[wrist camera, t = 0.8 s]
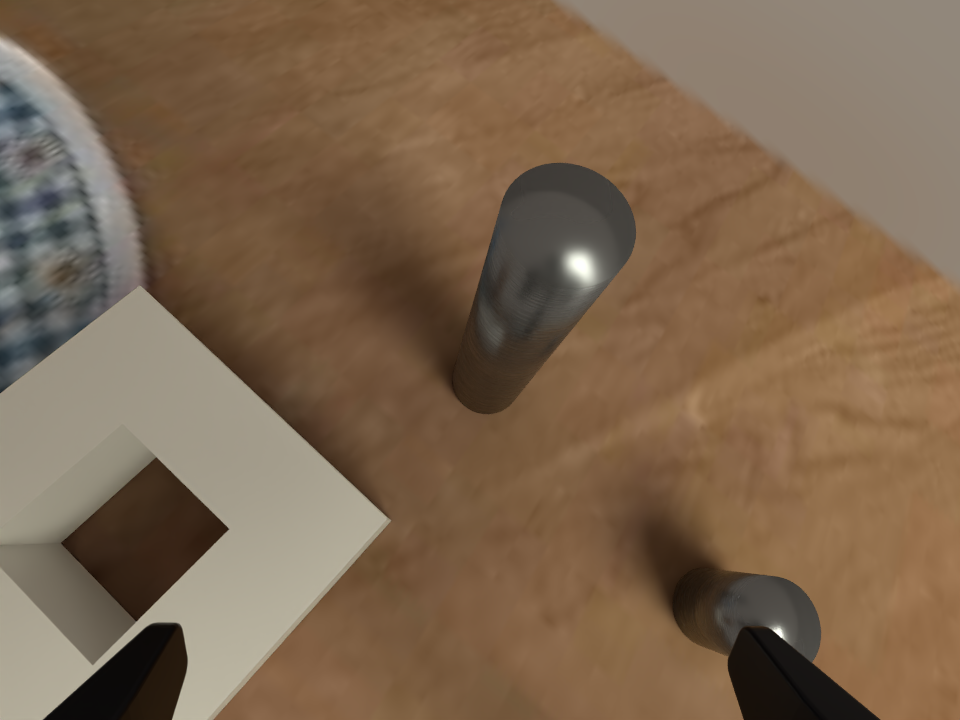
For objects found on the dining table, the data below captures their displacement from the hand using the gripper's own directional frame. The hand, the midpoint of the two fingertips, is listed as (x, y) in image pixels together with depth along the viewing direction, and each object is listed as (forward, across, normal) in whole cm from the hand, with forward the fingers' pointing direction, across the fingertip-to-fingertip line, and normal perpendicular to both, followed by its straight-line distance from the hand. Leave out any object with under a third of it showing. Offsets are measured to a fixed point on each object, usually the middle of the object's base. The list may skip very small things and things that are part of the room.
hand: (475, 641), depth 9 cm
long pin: (+15, -2, +3) cm, 16 cm away
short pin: (+9, -11, +10) cm, 17 cm away
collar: (+11, +10, +8) cm, 17 cm away
